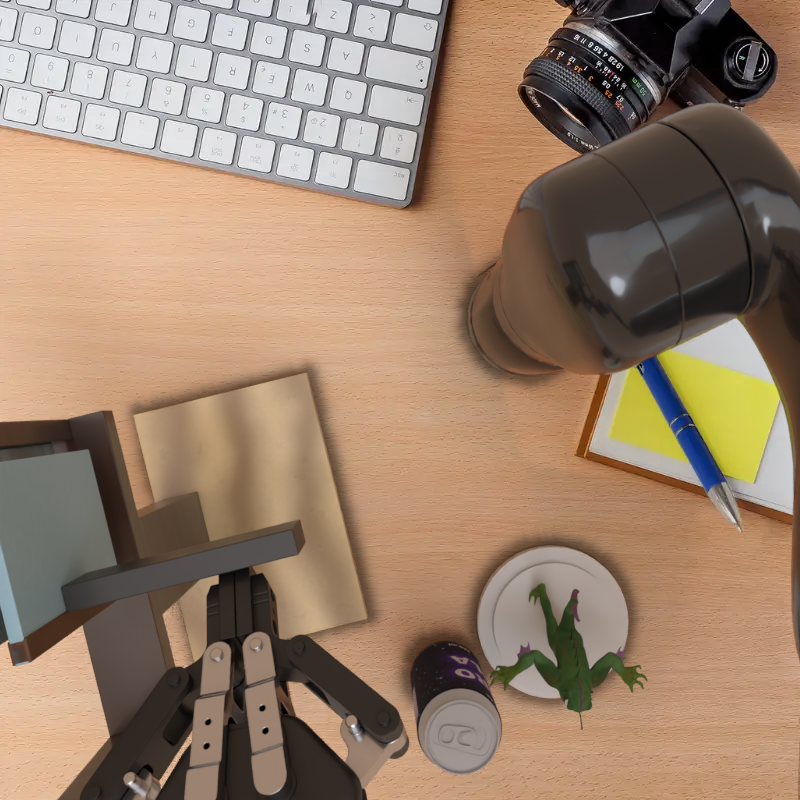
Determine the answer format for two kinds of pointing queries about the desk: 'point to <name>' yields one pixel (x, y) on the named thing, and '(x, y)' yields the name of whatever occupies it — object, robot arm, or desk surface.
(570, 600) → the monster figurine
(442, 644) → the beverage can
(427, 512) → the desk surface
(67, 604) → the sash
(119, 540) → the window frame
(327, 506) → the light brown wooden board
